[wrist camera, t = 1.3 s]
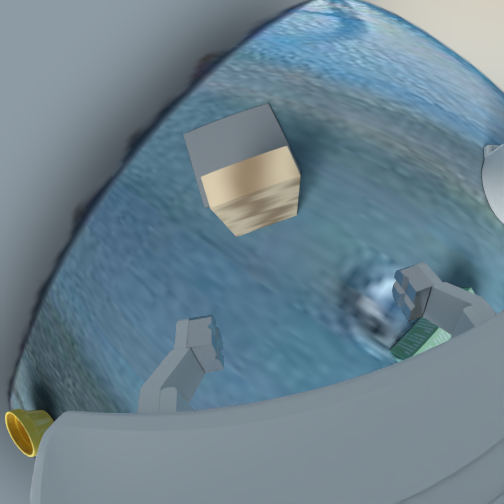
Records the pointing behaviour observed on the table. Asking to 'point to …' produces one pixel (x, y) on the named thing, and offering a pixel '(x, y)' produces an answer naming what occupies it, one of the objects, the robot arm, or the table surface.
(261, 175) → the oak slab
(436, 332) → the box
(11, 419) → the plant pot
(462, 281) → the table surface
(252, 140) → the mat
